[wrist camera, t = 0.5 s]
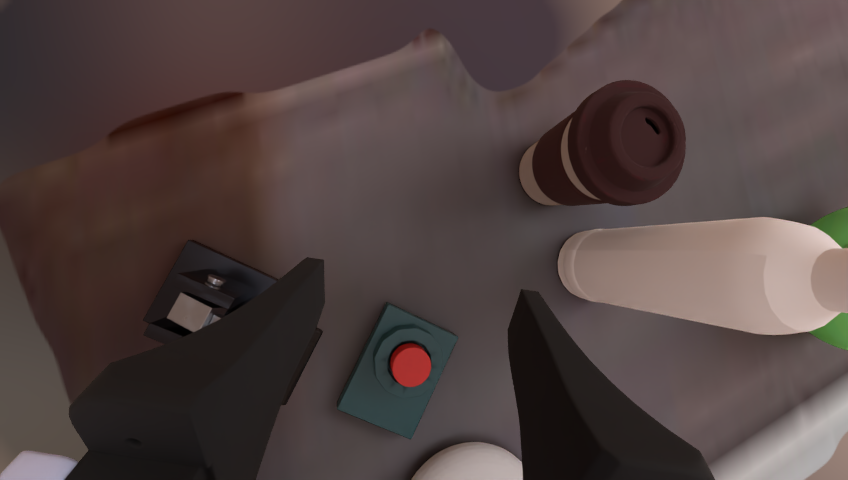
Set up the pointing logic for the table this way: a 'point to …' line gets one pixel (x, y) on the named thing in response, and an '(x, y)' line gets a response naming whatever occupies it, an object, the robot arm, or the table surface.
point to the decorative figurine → (471, 464)
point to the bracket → (203, 287)
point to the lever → (202, 313)
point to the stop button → (410, 365)
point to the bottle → (714, 272)
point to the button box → (374, 381)
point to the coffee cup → (608, 150)
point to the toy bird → (844, 230)
